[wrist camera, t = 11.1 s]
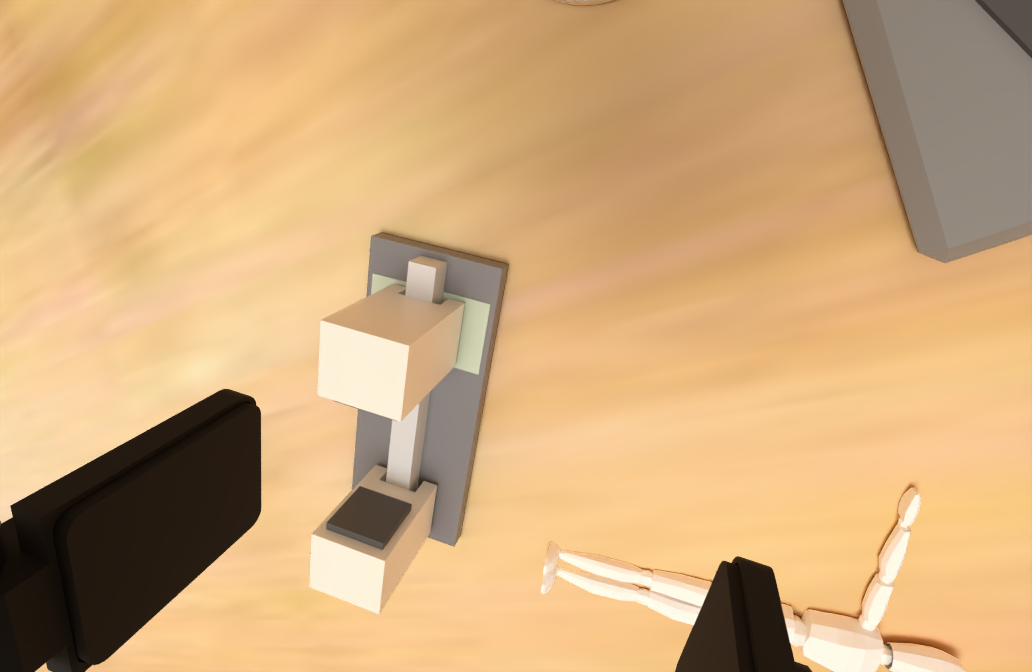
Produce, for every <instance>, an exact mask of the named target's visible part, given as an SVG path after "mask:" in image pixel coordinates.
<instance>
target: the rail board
mask: <svg viewBox="0 0 1032 672" xmlns="http://www.w3.org/2000/svg"><path fill="white" fill-rule="evenodd" d="M508 265H509V264H505V263H501V262H497V261H493V260H489V259H485V258H481V257H477V256H473V255H469V254H465V253H461V252H457V251H453V250H449V249H445V248H441V247H437V246H433V245H429V244H425V243H421V242H417V241H413V240H409V239H405V238H401V237H397V236H393V235H389V234H385V233H379V234H375V235H372V236H371V244H370V258H369V271H368V284H367V297H368V296H370V295H371V294H373V293H375V292H377V291H379V290H381V289H383V288H385V287H387V286H389V285H391V284H396V285H400V286H403V287H406V293H405V296H409V297H413V298H416V299H420V300H424V301H427V302H431V303H435V304H439V305H441V304H442V303H444V302H445V301H446V300H448V299H452V300H456V301H459V302H463V303H465V305H464V311H463V318H462V324H461V331H460V338H459V344H458V351H457V358H456V364H455V367H454V368H453V369H452V370H451V371H450V372H449V373H448V374H447V375H446V376H445V377H444V378H443V379H442V380H441V381H440V382H439V383H438V384H437V385H436V386H435V387H434V388H433V389H432V390H431V391H430V392H429V393H428V394H427V395H426V396H425V397H424V398H423V399H422V400H421V402H420V403H419V404H418V405H417V406H416V407H415V408H414V409H413V410H412V411H411V412H410V413H409V414H408V415H407V416H406V417H405V418H404V419H403V420H402V421H401V422H400V421H395V420H392V419H389V418H385V417H382V416H379V415H376V414H373V413H370V412H367V411H364V410H360V409H358V418H357V431H356V445H355V458H354V471H353V485H352V491H351V492H350V493H349V494H348V495H347V496H346V497H345V498H344V499H343V501H342V502H341V503H340V504H339V505H338V506H337V507H336V508H335V509H334V510H333V511H332V512H331V514H330V515H329V516H328V517H327V518H326V519H325V520H324V521H323V522H322V523H321V524H320V525H319V527H318V528H317V529H316V530H315V531H314V532H313V533H312V538H311V563H310V587H311V588H313V589H316V590H318V591H321V592H323V593H326V594H329V595H331V596H334V597H336V598H339V599H341V600H344V601H346V602H349V603H351V604H354V605H357V606H359V607H362V608H364V609H367V610H369V611H372V612H374V613H377V614H380V612H381V611H382V609H383V607H384V606H385V604H386V603H387V601H388V599H389V598H390V596H391V595H392V593H393V591H394V590H395V588H396V587H397V585H398V583H399V582H400V580H401V579H402V577H403V575H404V574H405V572H406V570H407V569H408V567H409V566H410V564H411V562H412V561H413V559H414V558H415V556H416V554H417V553H418V551H419V550H420V548H421V546H422V545H423V543H424V542H425V540H426V538H427V537H429V538H432V539H434V540H437V541H440V542H443V543H445V544H448V545H451V546H455V544H456V543H457V541H458V539H459V537H460V535H461V530H462V524H463V519H464V513H465V507H466V502H467V496H468V490H469V485H470V479H471V473H472V468H473V462H474V457H475V451H476V445H477V440H478V434H479V428H480V423H481V417H482V411H483V406H484V400H485V394H486V389H487V383H488V378H489V372H490V366H491V361H492V355H493V349H494V344H495V338H496V332H497V327H498V321H499V315H500V310H501V304H502V299H503V293H504V287H505V282H506V276H507V270H508Z"/></svg>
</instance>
